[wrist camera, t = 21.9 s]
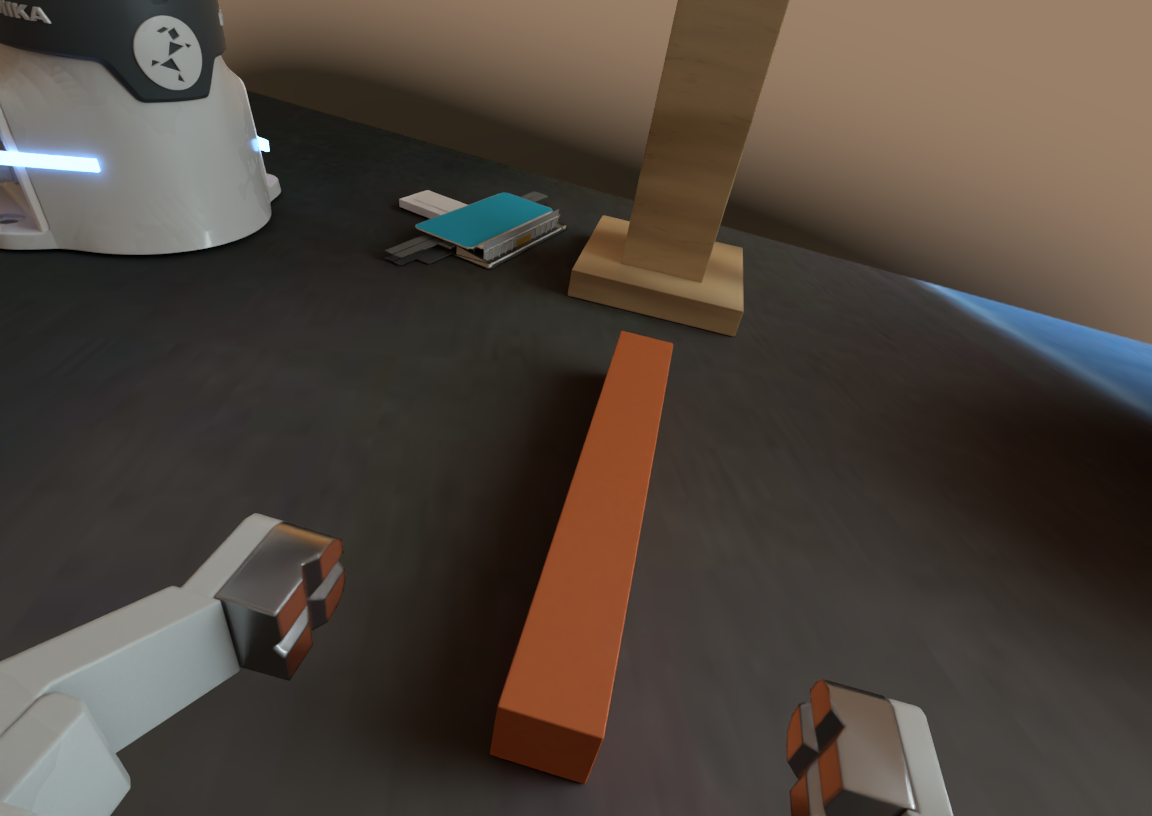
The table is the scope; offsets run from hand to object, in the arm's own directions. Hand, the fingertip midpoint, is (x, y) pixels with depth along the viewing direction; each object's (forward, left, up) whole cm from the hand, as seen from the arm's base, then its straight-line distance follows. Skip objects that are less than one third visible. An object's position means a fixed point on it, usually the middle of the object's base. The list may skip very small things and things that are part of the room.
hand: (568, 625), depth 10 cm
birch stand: (-13, +36, -11) cm, 40 cm away
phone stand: (-29, +33, -11) cm, 45 cm away
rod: (-4, +12, -11) cm, 17 cm away
